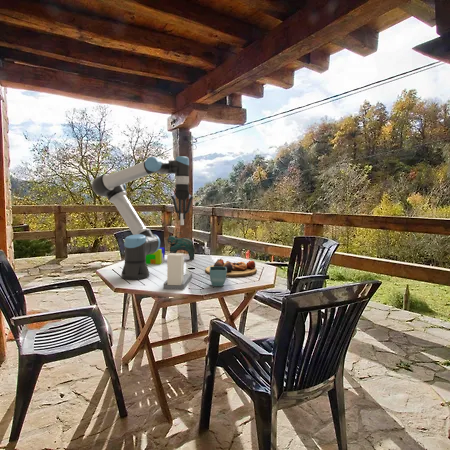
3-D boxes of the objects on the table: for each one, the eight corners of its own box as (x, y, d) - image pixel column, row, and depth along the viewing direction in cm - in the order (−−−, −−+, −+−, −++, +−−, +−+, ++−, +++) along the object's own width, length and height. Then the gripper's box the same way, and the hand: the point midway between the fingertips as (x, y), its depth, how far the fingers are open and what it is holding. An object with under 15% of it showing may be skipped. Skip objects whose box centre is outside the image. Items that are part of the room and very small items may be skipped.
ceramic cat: (167, 259, 233) (167, 232, 231) (169, 257, 239) (169, 231, 237) (193, 260, 230) (193, 232, 229) (195, 258, 237) (195, 232, 235)
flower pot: (226, 283, 169) (226, 266, 169) (226, 287, 161) (226, 270, 160) (209, 282, 169) (209, 266, 168) (209, 287, 160) (209, 270, 160)
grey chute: (163, 288, 157) (163, 283, 156) (174, 276, 180) (174, 272, 180) (183, 289, 156) (184, 284, 156) (192, 277, 180) (192, 272, 180)
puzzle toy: (164, 261, 224) (164, 247, 223) (160, 264, 214) (160, 249, 213) (150, 261, 225) (150, 247, 224) (145, 263, 215) (145, 249, 214)
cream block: (167, 284, 157) (167, 255, 156) (170, 281, 163) (170, 253, 162) (181, 285, 157) (181, 255, 156) (183, 282, 163) (183, 253, 162)
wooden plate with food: (261, 268, 207) (261, 256, 207) (250, 279, 177) (250, 265, 177) (215, 265, 217) (215, 253, 217) (197, 275, 187) (197, 262, 186)
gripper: (169, 183, 178) (169, 225, 180) (192, 183, 178) (192, 225, 180) (172, 184, 186) (172, 224, 188) (194, 184, 185) (194, 224, 187)
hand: (182, 224), depth 184 cm, fingers closed
